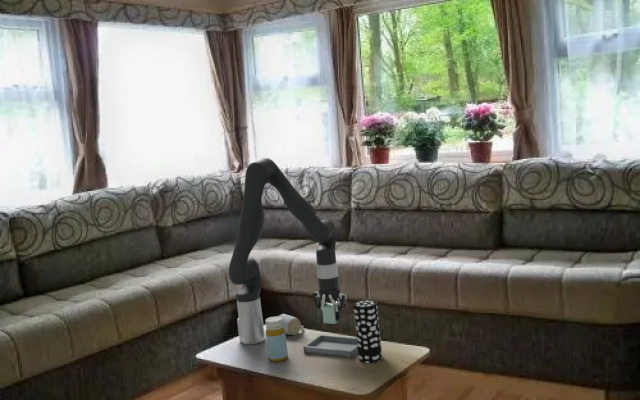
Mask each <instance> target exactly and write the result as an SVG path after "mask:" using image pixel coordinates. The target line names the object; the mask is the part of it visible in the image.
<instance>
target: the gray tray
mask: <svg viewBox="0 0 640 400" xmlns="http://www.w3.org/2000/svg"><path fill="white" fill-rule="evenodd" d="M302 348H303V353H304V354H308V355H309V354H310V355H318V356H327V357H337V358H346V359H352V358H354V357H355V356H356V355H358V348H357V338H356V337H350V336H349V337H348V336H339V335H338V336H337V335H327V334H318V335H317V336H316V337H315V338H313V339H312V340H310V341H309V342H307V343H306V344H305V345H303V346H302Z"/></svg>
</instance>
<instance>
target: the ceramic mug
mask: <svg viewBox="0 0 640 400" xmlns="http://www.w3.org/2000/svg"><path fill="white" fill-rule="evenodd" d="M278 316H279V317H282V320H283V327H284V329H285V335H288V336H296V335H297V334H298V333H299V332H300V331H303V330H304V325H301V320H300V319H298V318H297V317H295V316H292V315H288V314H286V313H282V314H279V315H278Z"/></svg>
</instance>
